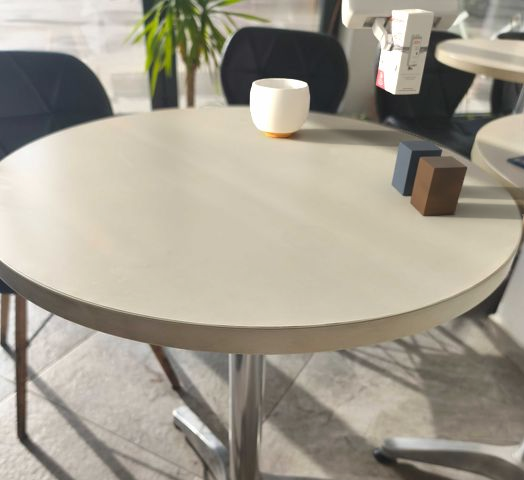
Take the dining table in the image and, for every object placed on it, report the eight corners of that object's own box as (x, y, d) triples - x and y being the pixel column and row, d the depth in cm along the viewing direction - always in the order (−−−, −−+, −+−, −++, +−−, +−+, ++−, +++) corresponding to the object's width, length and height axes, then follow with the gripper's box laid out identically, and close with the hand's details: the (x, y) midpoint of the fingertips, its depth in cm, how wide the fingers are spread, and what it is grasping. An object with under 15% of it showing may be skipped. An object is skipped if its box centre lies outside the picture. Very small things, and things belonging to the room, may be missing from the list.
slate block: (419, 183, 84) (429, 140, 79) (431, 194, 80) (442, 149, 76) (391, 184, 83) (399, 141, 79) (402, 195, 79) (411, 150, 75)
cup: (256, 143, 100) (257, 90, 94) (244, 127, 109) (244, 78, 103) (314, 141, 102) (319, 89, 96) (297, 125, 111) (300, 77, 105)
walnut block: (439, 201, 78) (451, 155, 73) (454, 214, 74) (467, 167, 69) (409, 202, 77) (419, 156, 73) (423, 215, 73) (434, 168, 69)
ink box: (374, 85, 91) (385, 7, 84) (399, 84, 92) (412, 7, 85) (393, 95, 85) (407, 12, 77) (420, 94, 86) (436, 12, 78)
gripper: (342, -45, 81) (352, 33, 79) (459, -42, 84) (470, 33, 82) (332, -13, 87) (341, 60, 86) (441, -11, 90) (451, 60, 88)
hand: (405, 47), depth 84 cm, fingers closed on ink box, 5 cm apart
